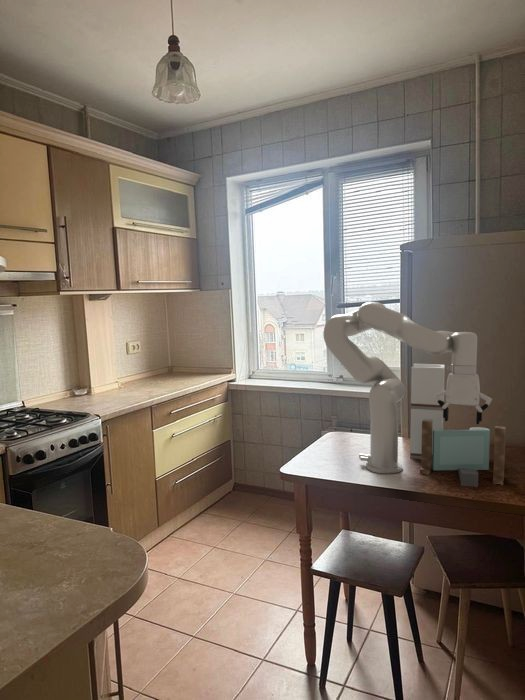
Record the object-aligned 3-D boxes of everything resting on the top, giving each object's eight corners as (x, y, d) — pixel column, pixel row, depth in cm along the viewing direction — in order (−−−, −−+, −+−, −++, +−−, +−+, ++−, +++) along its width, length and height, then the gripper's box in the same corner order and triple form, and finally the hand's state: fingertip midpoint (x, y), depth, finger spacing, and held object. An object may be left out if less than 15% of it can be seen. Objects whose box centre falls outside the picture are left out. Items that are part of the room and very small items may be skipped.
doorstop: (461, 486, 161) (461, 473, 161) (458, 472, 175) (458, 459, 174) (477, 488, 160) (478, 474, 159) (473, 473, 173) (473, 461, 173)
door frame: (419, 473, 173) (420, 422, 171) (424, 466, 180) (424, 417, 178) (503, 485, 161) (504, 430, 159) (504, 477, 168) (505, 425, 166)
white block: (442, 453, 196) (444, 364, 192) (441, 461, 186) (443, 368, 183) (412, 450, 200) (413, 363, 197) (410, 458, 190) (411, 367, 187)
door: (433, 470, 174) (434, 431, 173) (432, 469, 176) (432, 430, 174) (488, 469, 174) (490, 430, 173) (487, 468, 176) (488, 429, 174)
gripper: (433, 370, 163) (432, 421, 164) (492, 373, 155) (490, 427, 156) (437, 367, 169) (436, 416, 171) (493, 370, 161) (491, 422, 163)
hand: (462, 421), depth 164 cm, fingers open, 9 cm apart
